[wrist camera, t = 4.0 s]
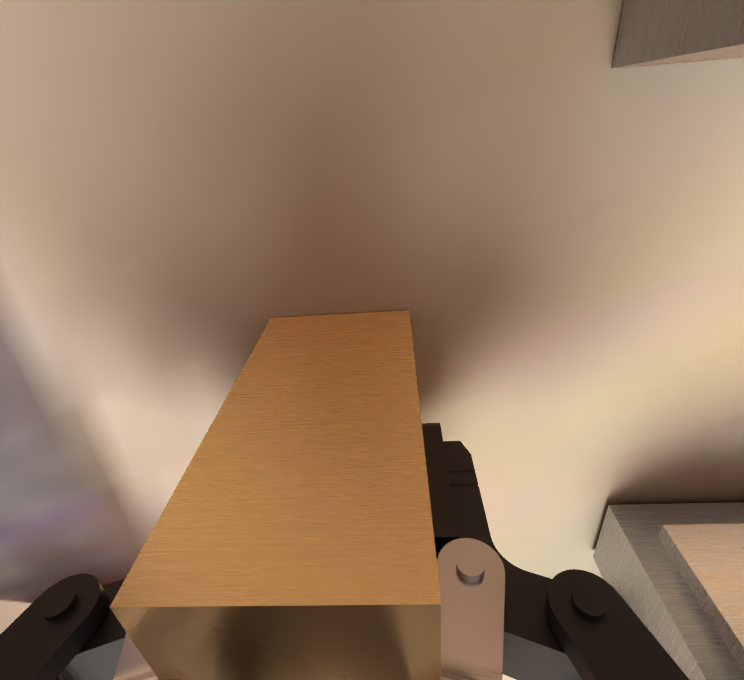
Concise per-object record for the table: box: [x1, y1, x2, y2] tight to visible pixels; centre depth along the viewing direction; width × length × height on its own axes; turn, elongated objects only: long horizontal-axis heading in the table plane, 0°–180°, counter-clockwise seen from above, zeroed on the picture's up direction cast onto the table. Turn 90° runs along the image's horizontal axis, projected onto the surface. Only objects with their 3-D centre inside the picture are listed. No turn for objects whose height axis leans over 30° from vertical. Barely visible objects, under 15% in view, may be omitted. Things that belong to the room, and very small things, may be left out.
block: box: [110, 310, 441, 680], centre depth 10 cm, size 4×7×8 cm, turn 4°
